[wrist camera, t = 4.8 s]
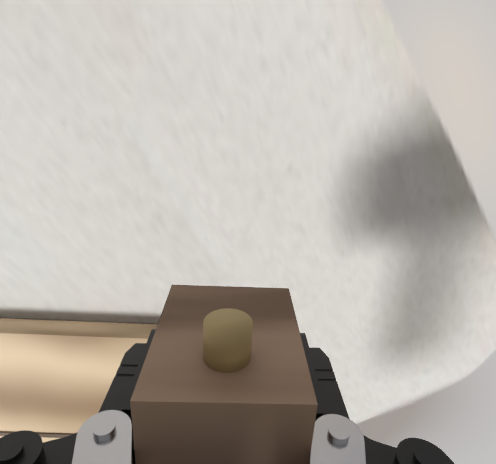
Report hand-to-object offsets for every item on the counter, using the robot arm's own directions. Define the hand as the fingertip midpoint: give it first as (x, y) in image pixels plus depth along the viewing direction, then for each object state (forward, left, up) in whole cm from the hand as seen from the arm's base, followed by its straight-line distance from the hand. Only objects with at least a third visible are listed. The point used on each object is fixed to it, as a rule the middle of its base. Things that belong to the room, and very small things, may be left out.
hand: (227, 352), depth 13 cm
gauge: (+4, 0, 0) cm, 4 cm away
